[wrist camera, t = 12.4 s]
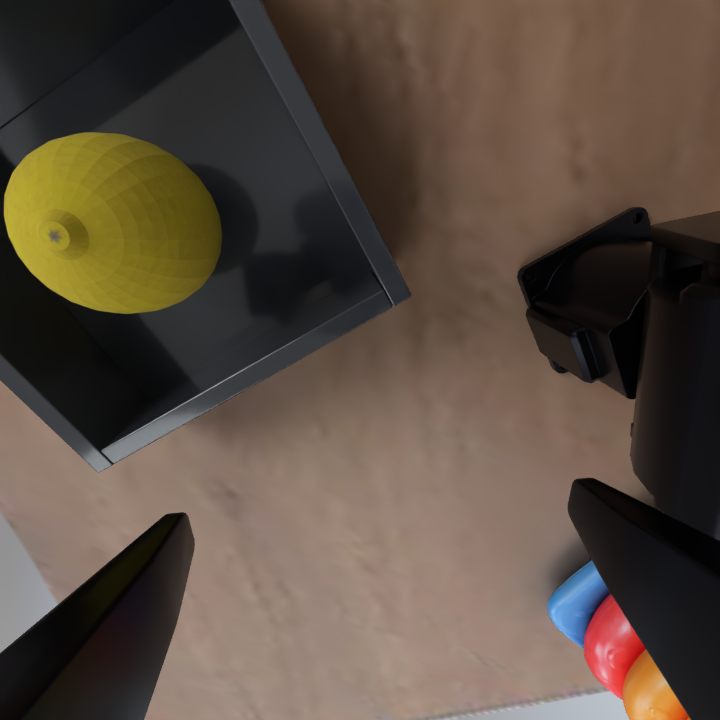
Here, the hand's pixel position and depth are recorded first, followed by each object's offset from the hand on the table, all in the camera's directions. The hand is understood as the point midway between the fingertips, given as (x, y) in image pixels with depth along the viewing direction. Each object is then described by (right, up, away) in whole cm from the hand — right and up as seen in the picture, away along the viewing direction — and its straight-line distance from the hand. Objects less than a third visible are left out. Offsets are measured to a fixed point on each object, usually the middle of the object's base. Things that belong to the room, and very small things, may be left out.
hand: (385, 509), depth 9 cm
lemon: (-9, +9, +8) cm, 15 cm away
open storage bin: (-9, +10, +8) cm, 15 cm away
